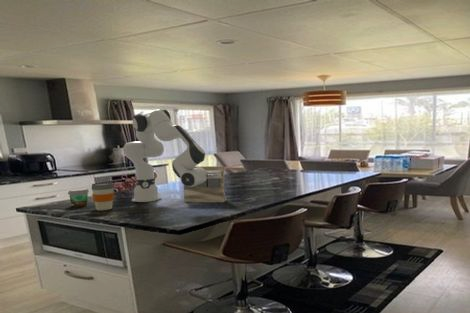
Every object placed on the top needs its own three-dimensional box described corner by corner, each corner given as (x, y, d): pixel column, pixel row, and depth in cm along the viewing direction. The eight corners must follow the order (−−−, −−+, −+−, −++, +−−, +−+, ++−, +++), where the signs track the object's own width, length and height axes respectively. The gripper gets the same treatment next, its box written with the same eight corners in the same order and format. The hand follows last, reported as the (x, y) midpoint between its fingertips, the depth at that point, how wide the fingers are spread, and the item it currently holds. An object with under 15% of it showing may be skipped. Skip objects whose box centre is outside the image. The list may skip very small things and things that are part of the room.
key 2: (212, 186, 225) (211, 178, 224) (221, 186, 223) (220, 178, 223) (209, 187, 220) (209, 179, 220) (218, 187, 218) (218, 179, 218)
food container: (71, 208, 219) (70, 191, 218) (68, 206, 224) (67, 190, 223) (92, 205, 227) (91, 189, 226) (89, 203, 232) (88, 188, 231)
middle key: (200, 186, 227) (199, 178, 226) (209, 186, 225) (208, 178, 225) (197, 187, 222) (196, 179, 222) (206, 187, 220) (206, 179, 220)
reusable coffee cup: (114, 209, 210) (113, 184, 209) (91, 211, 206) (90, 185, 205) (115, 205, 222) (114, 181, 221) (94, 207, 219) (92, 183, 218)
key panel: (188, 199, 233) (186, 166, 232) (226, 200, 227) (225, 165, 225) (183, 201, 227) (182, 167, 225) (223, 202, 220) (222, 166, 219)
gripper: (216, 169, 191) (224, 167, 204) (181, 170, 196) (190, 167, 209) (217, 181, 191) (224, 178, 205) (181, 181, 197) (191, 178, 210)
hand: (207, 172), depth 207 cm, fingers closed
